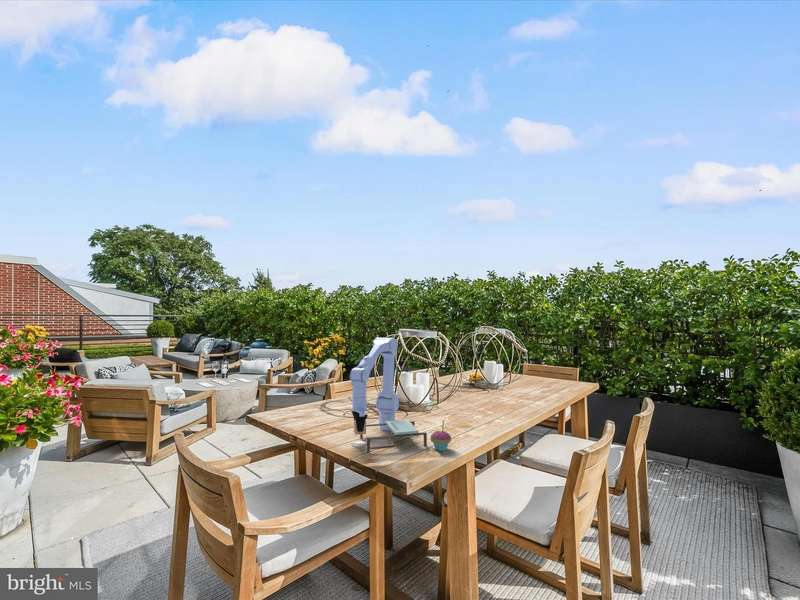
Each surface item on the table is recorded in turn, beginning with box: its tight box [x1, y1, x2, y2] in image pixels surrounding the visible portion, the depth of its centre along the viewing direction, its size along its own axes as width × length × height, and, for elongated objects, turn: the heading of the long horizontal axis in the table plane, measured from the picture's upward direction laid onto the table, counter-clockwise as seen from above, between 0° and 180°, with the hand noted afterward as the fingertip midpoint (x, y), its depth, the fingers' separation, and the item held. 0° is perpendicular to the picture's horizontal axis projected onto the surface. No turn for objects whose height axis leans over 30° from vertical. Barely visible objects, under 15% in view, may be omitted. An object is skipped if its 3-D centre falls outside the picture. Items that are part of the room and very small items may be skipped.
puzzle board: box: [350, 420, 428, 452], centre depth 165 cm, size 18×30×6 cm, turn 105°
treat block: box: [353, 418, 367, 436], centre depth 162 cm, size 4×4×5 cm
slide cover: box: [386, 418, 420, 435], centre depth 166 cm, size 17×10×1 cm, turn 15°
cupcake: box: [430, 418, 452, 452], centre depth 159 cm, size 9×8×12 cm
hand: (359, 429), depth 162 cm, fingers closed on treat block, 4 cm apart
